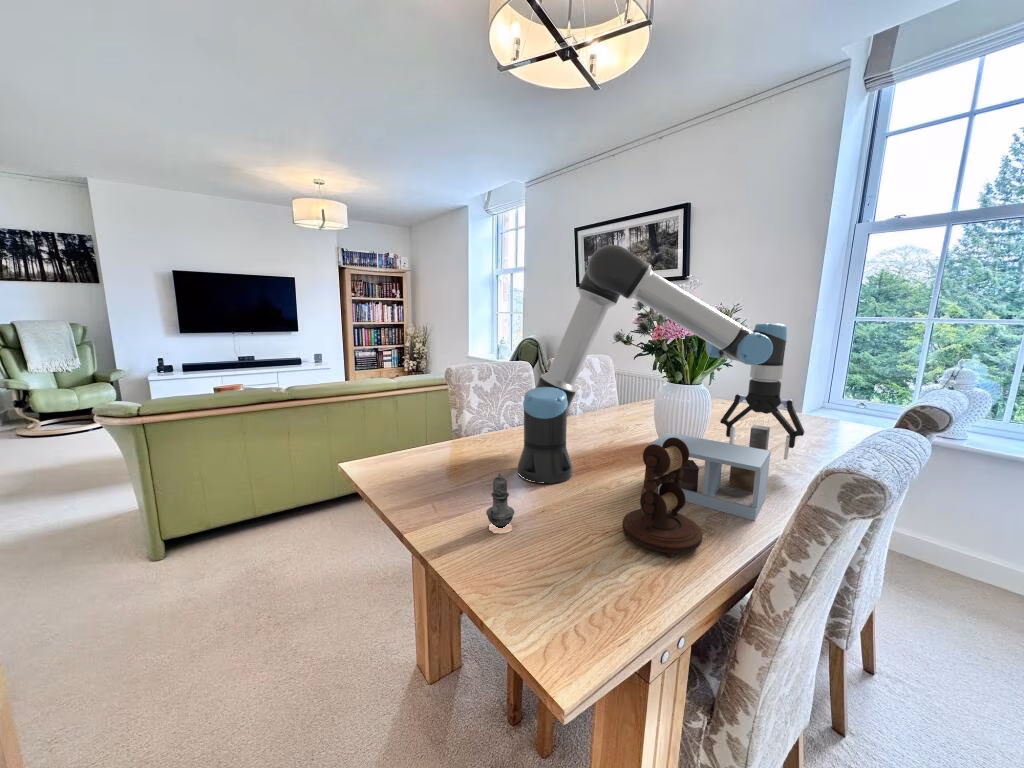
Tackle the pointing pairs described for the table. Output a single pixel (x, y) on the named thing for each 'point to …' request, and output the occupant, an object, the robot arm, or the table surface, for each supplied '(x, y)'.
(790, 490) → the table surface
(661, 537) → the thread spool stand
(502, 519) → the salt shaker
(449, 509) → the table surface
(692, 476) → the box
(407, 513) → the table surface
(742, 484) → the walnut block
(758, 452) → the shelf
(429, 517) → the table surface
